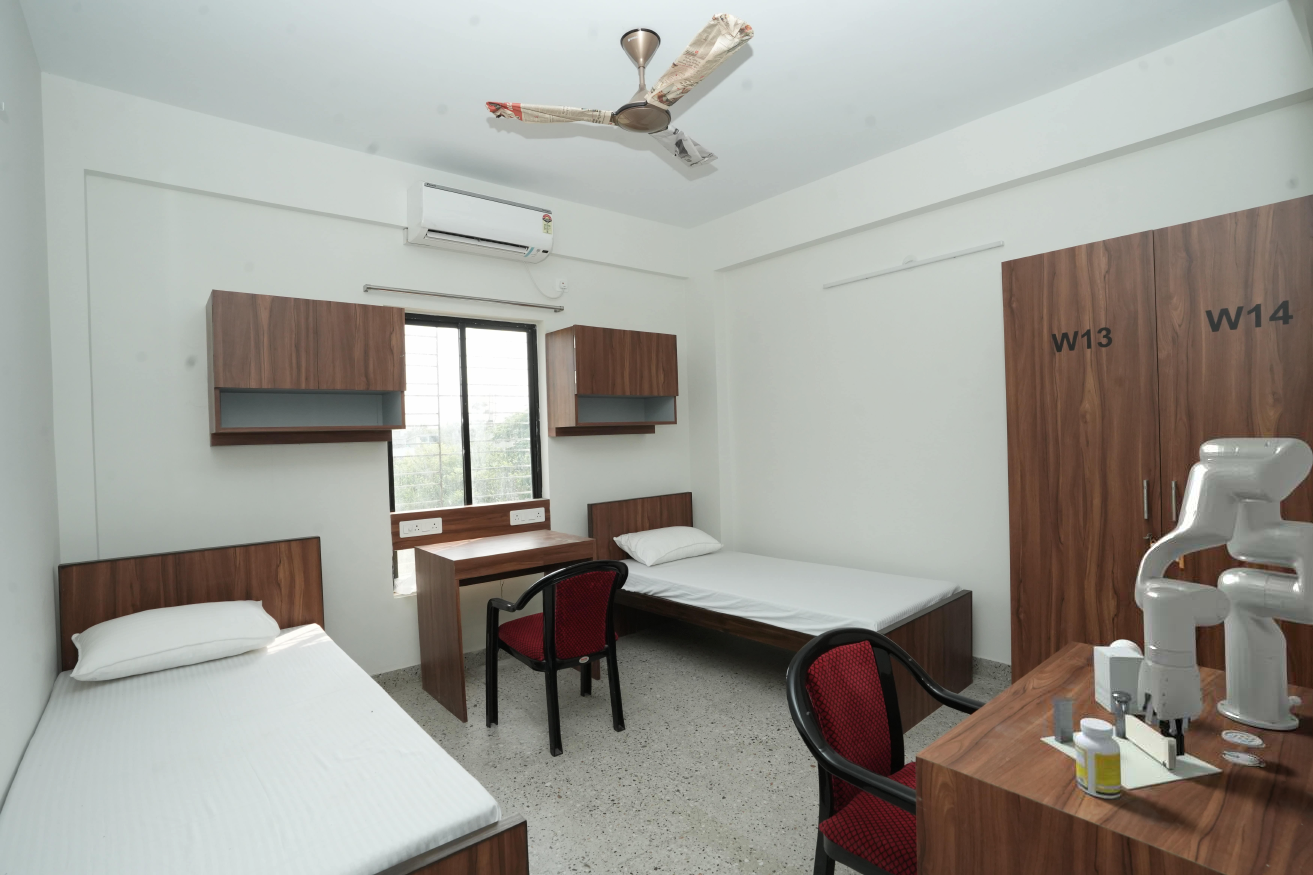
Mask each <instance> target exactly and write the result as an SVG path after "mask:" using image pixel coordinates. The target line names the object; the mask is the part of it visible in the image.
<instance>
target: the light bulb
mask: <svg viewBox="0 0 1313 875" xmlns="http://www.w3.org/2000/svg"><path fill="white" fill-rule="evenodd" d="M1109 647H1128V648H1130V649H1132V650H1133V651H1135V652H1136V653H1138V654H1140V655H1141V656H1143V652H1142V650H1141V648H1140V647H1139V646H1138V645H1137V644H1136V643H1135V642H1133V641H1131V640H1128V639H1118V640H1117V639H1116V640H1115V641H1113V642H1112V643H1111V644H1110V645H1109Z"/></svg>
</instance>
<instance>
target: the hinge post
mask: <svg viewBox="0 0 1313 875" xmlns="http://www.w3.org/2000/svg"><path fill="white" fill-rule="evenodd" d="M1112 698H1114V703H1115V713H1114V726H1115V735H1116V736H1117V737H1118V738H1121V739H1128V738H1127V737H1126V723H1125V715H1130V714H1129V701H1131V695H1130V694H1128V693H1126V692H1121V691H1113V692H1112Z"/></svg>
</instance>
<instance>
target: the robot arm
mask: <svg viewBox="0 0 1313 875" xmlns="http://www.w3.org/2000/svg"><path fill="white" fill-rule="evenodd" d="M1198 455H1199V460H1200V461H1197V462H1196V463H1194V465H1192V466H1191V469H1190V471H1189V474H1188V478H1187V483H1186V487H1185V491H1184V495H1183V499H1182V504H1181V508H1180V512H1179V516H1178V522H1177V525H1176V527H1175V528H1174V529H1173V530H1172V531H1170V532H1168V533H1167V534H1165V535H1164V536H1162V537H1161V538H1160V539H1158V540H1157V541H1156V542H1155V543H1154V544H1153V545H1152V546H1151V547H1150V548H1149V549H1148V550H1147V552H1146V553H1145V554H1144V555H1143V557H1142V559H1141V561H1140V564H1139V567H1138V572H1137V575H1136V579H1135V580H1136V581H1135V586H1134V587H1135V588H1134V600H1135V603H1136V604H1137V606H1138V608H1140V609H1141V610H1142V611H1143V635H1144V639H1143V640H1144V657H1145V660H1143V661H1142V663H1141V666H1140V671H1139V678H1138V695H1137V702H1138V709H1139V710H1140V711H1143V712H1146V715H1145V717H1144V718H1145V719H1144V721H1145V723H1147V724H1149V725H1152V726H1155V727H1157V729H1159V730H1160V734H1161V735H1162V736H1164V737H1172V738H1174V739H1175V740H1176V756H1183V755H1185V753H1186V752H1185V750H1186V749H1185V748H1186V747H1185V746H1186V745H1185V735H1186V734H1187V732H1188V726H1189V724H1190V723H1191V722H1193V721H1195V720H1197V719H1198V718H1199V715H1200V714H1201V713H1202V712H1203V706H1204V703H1203V690H1202V689H1203V687H1202V681H1201V675H1200V671H1199V667H1198V664H1197V650H1196V649H1197V648H1196V643H1197V642H1196V627H1211V626H1217V625H1220V624H1221V623H1223V624H1224V648H1225V650H1224V651H1225V654H1224V655H1225V679H1226V680H1225V681H1226V682H1225V684H1226V685H1225V687H1226V688H1225V689H1226V690H1225V691H1226V699H1224V700H1221V701H1219V702H1218V703H1217V710H1218V712H1219V713H1220V714H1221V715H1223V716H1224V717H1225V718H1226V717H1227V718H1228V719H1230V720H1232V721H1235V722H1237V723H1242V724H1244V725H1248V726H1251V727H1255V728H1261V729H1267V730H1272V731H1273V730H1276V731H1291V730H1294V729H1297V728H1298V727H1299V724H1300V722H1299V721H1300V720H1299V719H1298V717H1297V716H1295V715H1294V713H1293V714H1292V713H1291V712H1290V709H1291V708H1292V707H1296V706H1297V707H1298V706H1301V705H1302V704H1303V702H1302V699H1301V698H1300V697H1298V696H1296V695H1291V696H1288V674H1287V672H1288V671H1287V670H1288V669H1287V668H1288V667H1287V665H1288V664H1287V641H1286V637H1285V634H1284V633H1283V631H1282V629H1281V628H1280V626H1278V624H1277V623H1276V622H1275V620H1274V619H1277V620H1282V621H1289V622H1293V623H1298V624H1305V625H1311V626H1313V523H1312V522H1306V521H1298V520H1297V521H1295V520H1294V521H1293V520H1285V519H1283V518H1282V516H1281V501H1283V500H1284V499H1286V498H1287V497H1289V495H1290V494H1291V493H1292V492H1293V491H1294V490H1296V488H1297V487H1298V486H1299V485H1300V484H1301V483H1302V482H1303V481H1304V480H1305V479H1306V478H1307V476H1308V475H1309V474H1310V472H1311V469H1312V467H1313V451H1312V449H1311V447H1310V446H1309V444H1308V443H1307V442H1305V441H1303V440H1301V439H1299V438H1292V437H1227V438H1226V437H1224V438H1223V437H1222V438H1215V439H1210V440H1208V441H1205V442H1203V443H1202V444H1201V446H1200V447H1199V454H1198ZM1222 545H1226V547H1227V551H1228V553H1229V555H1230V556H1231V557H1232V558H1234V559H1236V560H1238V561H1243V562H1247V563H1253V564H1259V565H1266V566H1275V567H1283V568H1290V569H1294V571H1295V573H1296V574H1294V573H1285V572H1278V571H1273V570H1266V569H1259V568H1258V569H1257V568H1251V567H1234V568H1230V569H1227V570H1225V571H1223V572H1221V574H1220V575H1219V577H1218V580H1217V587H1215V586H1211V585H1207V584H1201V583H1195V582H1189V581H1185V580H1184V581H1183V580H1178V579H1171V578H1167V577H1166V578H1165V577H1164V575H1165V571H1166V569H1167V568H1168V567H1169V565H1171V563H1173V562H1174V561H1175V560H1177V559H1178V558H1180V557H1183V556H1184V555H1187V554H1188V555H1189V554H1190V553H1193V552H1197V551H1202V550H1205V549H1209V548H1210V549H1211V548H1214V547H1220V546H1222Z"/></svg>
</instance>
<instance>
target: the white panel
mask: <svg viewBox="0 0 1313 875" xmlns="http://www.w3.org/2000/svg"><path fill="white" fill-rule="evenodd" d="M1125 723H1126V737H1127V738H1128V739H1130V740H1131V741H1132V742H1134V743H1135V744H1136V745H1138V746H1139V747H1141V748H1142V749H1143V750H1145V751H1146V752H1147V753H1149V754H1150V755H1151V756H1153V757H1154V758H1155V759H1157V760H1158V761H1160V762H1161V763H1162V764H1163V766H1164V767H1165V768H1167V769H1168V770H1173V769H1177V759H1176V740H1175V739H1174V738H1172V737H1164V736H1162V735H1161V733H1159V732H1158V731H1156V730H1155V729H1153V728H1152V727H1150V726H1149V725H1147V724H1146V723H1144V722H1143V721H1141V720H1140V719H1139V718H1137V717H1136V716H1134V714H1129V715H1125Z"/></svg>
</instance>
